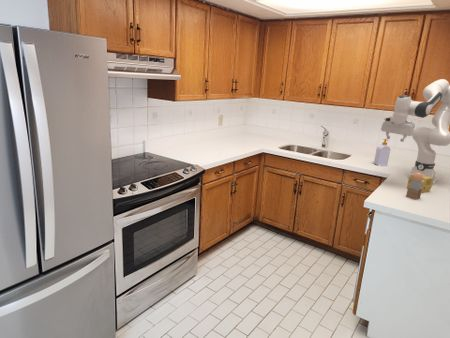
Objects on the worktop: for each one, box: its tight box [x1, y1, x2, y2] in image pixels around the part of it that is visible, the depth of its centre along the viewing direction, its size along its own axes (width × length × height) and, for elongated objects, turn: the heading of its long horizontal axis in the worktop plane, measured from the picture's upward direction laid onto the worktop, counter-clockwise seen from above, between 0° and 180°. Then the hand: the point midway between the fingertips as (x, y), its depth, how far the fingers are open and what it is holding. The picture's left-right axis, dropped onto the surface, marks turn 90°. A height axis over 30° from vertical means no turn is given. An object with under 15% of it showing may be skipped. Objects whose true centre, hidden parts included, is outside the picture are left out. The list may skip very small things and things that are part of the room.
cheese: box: [406, 174, 434, 194], centre depth 217 cm, size 10×11×10 cm
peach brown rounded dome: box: [413, 172, 423, 182], centre depth 198 cm, size 5×5×5 cm
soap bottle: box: [373, 138, 391, 167], centre depth 277 cm, size 9×7×23 cm
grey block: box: [409, 180, 423, 190], centre depth 200 cm, size 5×5×5 cm
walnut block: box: [405, 188, 422, 201], centre depth 201 cm, size 6×6×6 cm
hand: (394, 140), depth 219 cm, fingers open, 8 cm apart
